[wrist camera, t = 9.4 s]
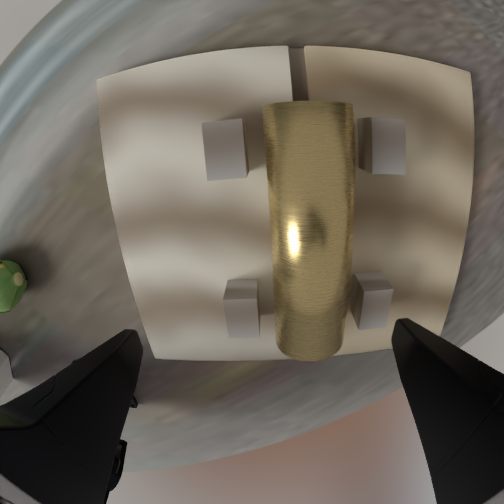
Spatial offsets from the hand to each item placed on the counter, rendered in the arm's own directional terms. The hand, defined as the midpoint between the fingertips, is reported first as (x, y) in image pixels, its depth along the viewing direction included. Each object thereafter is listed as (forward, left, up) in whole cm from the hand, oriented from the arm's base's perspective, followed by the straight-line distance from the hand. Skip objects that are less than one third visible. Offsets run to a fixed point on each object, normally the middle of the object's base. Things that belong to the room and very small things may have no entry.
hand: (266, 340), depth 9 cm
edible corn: (-3, +31, -11) cm, 34 cm away
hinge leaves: (+1, -3, -11) cm, 11 cm away
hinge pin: (+1, -2, -10) cm, 10 cm away
